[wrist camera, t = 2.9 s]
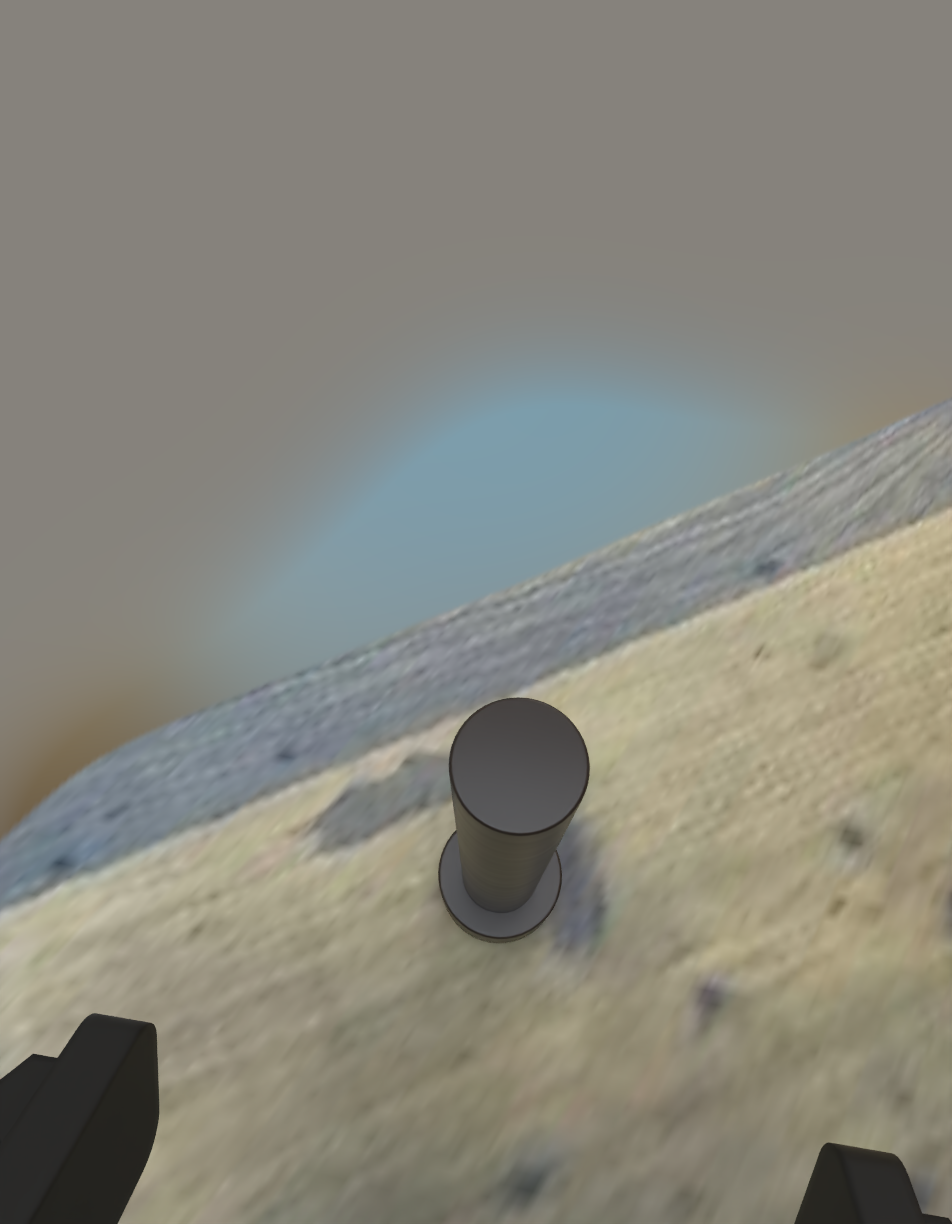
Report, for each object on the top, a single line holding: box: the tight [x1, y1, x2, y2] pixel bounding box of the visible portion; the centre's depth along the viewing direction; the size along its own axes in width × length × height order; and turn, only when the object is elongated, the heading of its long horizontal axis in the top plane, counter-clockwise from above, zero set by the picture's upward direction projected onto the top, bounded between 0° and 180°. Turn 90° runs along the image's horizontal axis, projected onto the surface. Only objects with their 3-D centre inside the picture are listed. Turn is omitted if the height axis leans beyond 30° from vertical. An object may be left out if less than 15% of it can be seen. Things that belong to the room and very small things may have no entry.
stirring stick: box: [438, 698, 590, 943], centre depth 21 cm, size 4×4×15 cm
